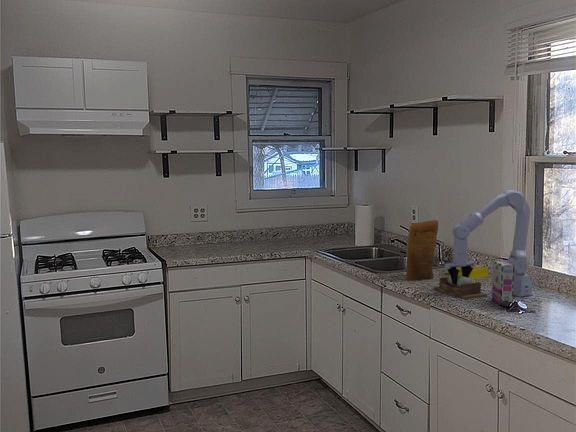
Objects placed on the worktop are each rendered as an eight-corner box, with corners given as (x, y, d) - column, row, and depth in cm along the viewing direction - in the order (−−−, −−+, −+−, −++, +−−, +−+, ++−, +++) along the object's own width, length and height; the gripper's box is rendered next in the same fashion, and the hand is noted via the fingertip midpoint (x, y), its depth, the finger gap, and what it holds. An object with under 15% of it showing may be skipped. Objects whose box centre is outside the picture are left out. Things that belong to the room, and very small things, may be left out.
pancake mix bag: (441, 278, 275) (442, 220, 272) (409, 282, 267) (410, 223, 264) (432, 275, 281) (433, 219, 278) (400, 279, 273) (401, 221, 270)
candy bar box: (513, 307, 223) (514, 265, 222) (500, 307, 223) (501, 265, 222) (503, 299, 234) (504, 260, 233) (491, 299, 235) (492, 260, 233)
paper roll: (472, 288, 243) (472, 277, 242) (462, 290, 241) (462, 278, 240) (456, 284, 252) (456, 272, 252) (447, 285, 250) (447, 274, 250)
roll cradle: (486, 296, 240) (487, 283, 239) (463, 299, 235) (464, 286, 235) (455, 286, 258) (456, 274, 258) (433, 289, 254) (433, 276, 253)
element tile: (490, 276, 280) (490, 266, 279) (469, 280, 272) (469, 270, 272) (465, 271, 293) (466, 262, 292) (445, 274, 285) (445, 265, 284)
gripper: (467, 249, 251) (467, 280, 253) (440, 252, 246) (440, 283, 247) (478, 252, 245) (478, 283, 246) (451, 255, 239) (450, 286, 241)
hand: (459, 283), depth 246 cm, fingers closed on paper roll, 5 cm apart
